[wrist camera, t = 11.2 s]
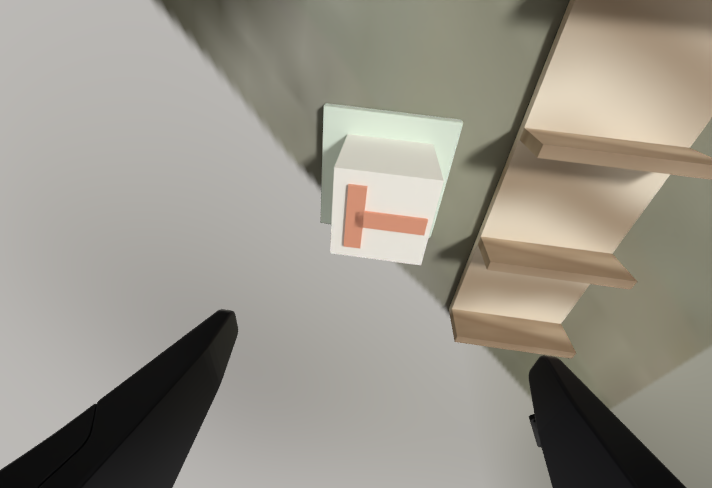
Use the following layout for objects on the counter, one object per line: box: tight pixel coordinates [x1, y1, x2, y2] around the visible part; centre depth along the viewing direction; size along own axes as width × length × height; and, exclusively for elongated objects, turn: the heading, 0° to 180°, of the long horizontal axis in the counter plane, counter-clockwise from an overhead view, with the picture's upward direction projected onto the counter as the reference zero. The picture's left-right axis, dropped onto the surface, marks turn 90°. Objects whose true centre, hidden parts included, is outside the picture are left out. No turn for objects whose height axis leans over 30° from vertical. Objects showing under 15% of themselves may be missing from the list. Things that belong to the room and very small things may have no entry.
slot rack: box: [449, 0, 712, 358], centre depth 17 cm, size 20×8×3 cm, turn 175°
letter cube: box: [330, 134, 444, 265], centre depth 16 cm, size 4×4×5 cm
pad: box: [321, 103, 463, 237], centre depth 18 cm, size 7×7×1 cm
